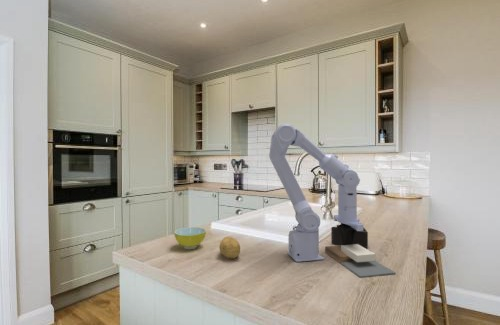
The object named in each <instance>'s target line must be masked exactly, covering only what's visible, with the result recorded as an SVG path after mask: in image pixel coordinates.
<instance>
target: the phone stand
mask: <svg viewBox="0 0 500 325" xmlns="http://www.w3.org/2000/svg"><path fill="white" fill-rule="evenodd" d="M330 230H331V231H330V232H331V233H330V234H331V235H330V237H331V238H330V239H331V244H332V245H333V246H339V245H343V242H342V238H341V235H340V232H339V230H338V228H337V226H331V229H330ZM368 237H369V233H368V231H367V229H366V228H365V227H364V226H363V231H357V233H356V235H355V237H354V240H353V243H352V245H353V244H358V245H360V246H362V247H364V248H366V249H367V250H369V246H368V245H369V240H368V239H369V238H368Z"/></svg>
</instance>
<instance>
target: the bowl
mask: <svg viewBox="0 0 500 325" xmlns="http://www.w3.org/2000/svg"><path fill="white" fill-rule="evenodd" d="M173 234H174V237H175V240H176V241H177V243H178V244H179V245H181V246H182V247H183V249H185V250H188V251H189V250H195V249H196V248H197V247H198V246H199V245H200V244H201V243H202V242H203V241H204V239H205V237H206V234H207V230H206V229H205V228H203V227H197V226H195V227H193V226H192V227H191V226H189V227H181V228H177V229H176V230H174V233H173Z"/></svg>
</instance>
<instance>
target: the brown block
mask: <svg viewBox="0 0 500 325" xmlns="http://www.w3.org/2000/svg"><path fill="white" fill-rule="evenodd" d="M324 253H325V254H327V255H328V256H330V257H331V258H332V259H333V260H335V261H337V263H339V264H341V262H351V261H354V260H353V259H351V258H350V257H348V256H347V255H345V254H344V253H342V252H341V245H330V246H329V245H328V246H324Z"/></svg>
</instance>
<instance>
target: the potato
mask: <svg viewBox="0 0 500 325" xmlns="http://www.w3.org/2000/svg"><path fill="white" fill-rule="evenodd" d="M219 252H220V254H221V255H223V256H224V257H226V258H228V259H235V258H237V257H238V256H239V254H240V253H241V245H240V242H239V241H238V240H237V239H235V237H233V236H225V237H224V238H222V240H221V241H220V244H219Z"/></svg>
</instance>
